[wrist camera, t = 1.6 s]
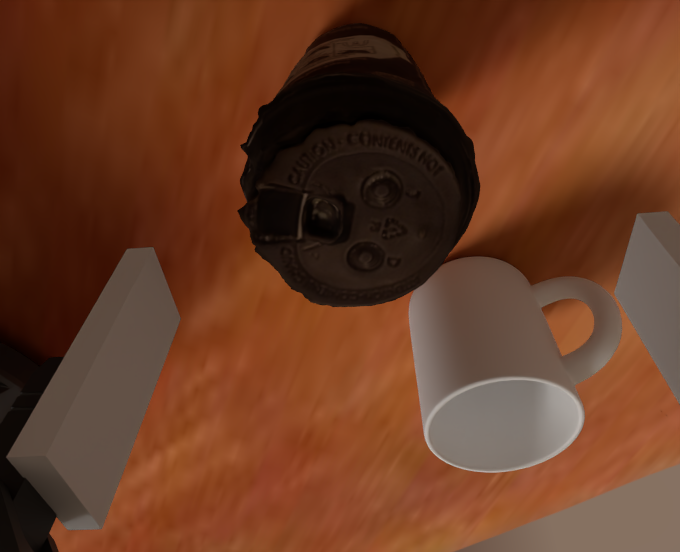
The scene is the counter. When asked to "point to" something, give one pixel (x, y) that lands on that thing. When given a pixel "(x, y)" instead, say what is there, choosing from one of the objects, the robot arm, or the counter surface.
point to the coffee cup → (357, 173)
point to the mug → (502, 363)
